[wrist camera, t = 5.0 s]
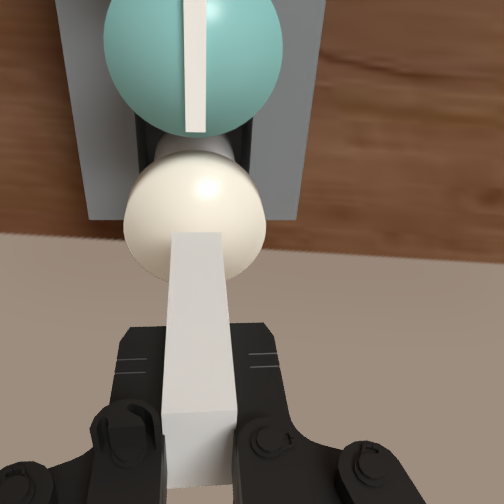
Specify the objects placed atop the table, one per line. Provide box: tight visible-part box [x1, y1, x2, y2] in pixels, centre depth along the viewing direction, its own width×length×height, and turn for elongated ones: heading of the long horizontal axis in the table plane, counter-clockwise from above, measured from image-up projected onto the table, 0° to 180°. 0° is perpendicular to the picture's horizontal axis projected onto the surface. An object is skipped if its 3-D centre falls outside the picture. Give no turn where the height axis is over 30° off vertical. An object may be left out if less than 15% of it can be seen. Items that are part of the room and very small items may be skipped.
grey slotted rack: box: [55, 0, 326, 220], centre depth 20 cm, size 10×18×5 cm, turn 176°
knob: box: [123, 131, 266, 282], centre depth 20 cm, size 5×5×6 cm
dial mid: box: [103, 0, 283, 138], centre depth 16 cm, size 5×5×7 cm
